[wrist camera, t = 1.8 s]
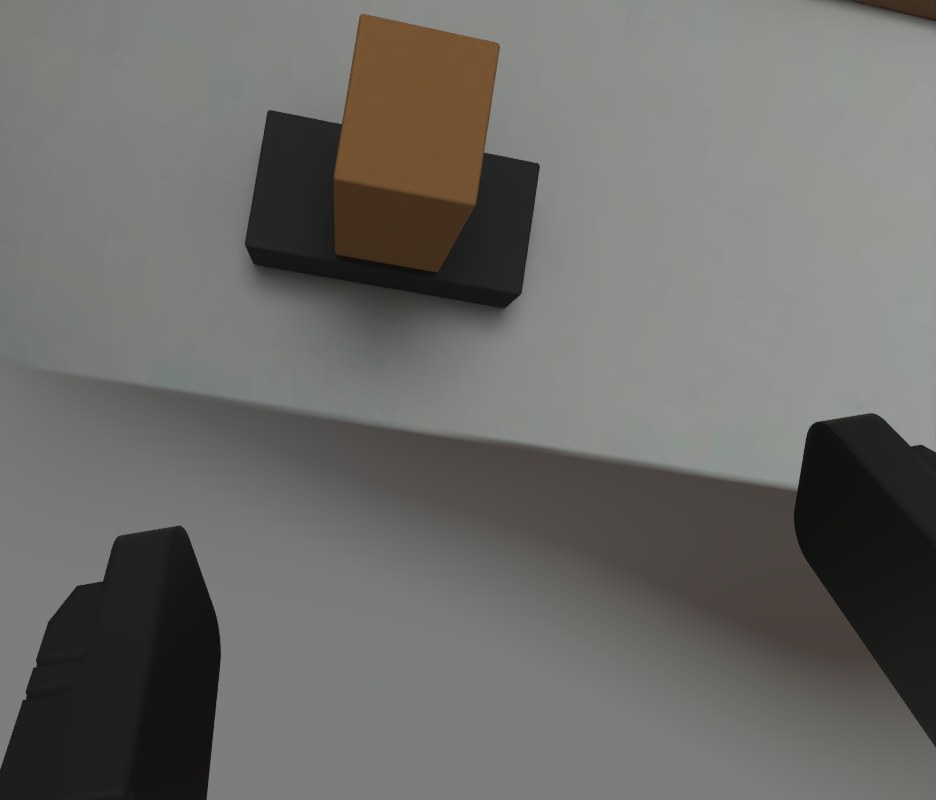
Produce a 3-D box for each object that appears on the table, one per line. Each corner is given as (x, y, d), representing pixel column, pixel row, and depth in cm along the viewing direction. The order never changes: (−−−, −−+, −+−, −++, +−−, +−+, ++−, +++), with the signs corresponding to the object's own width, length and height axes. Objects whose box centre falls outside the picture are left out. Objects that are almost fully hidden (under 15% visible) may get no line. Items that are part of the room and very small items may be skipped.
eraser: (252, 264, 27) (206, 165, 17) (274, 139, 27) (240, -25, 18) (505, 308, 28) (589, 237, 19) (522, 188, 28) (614, 57, 19)
